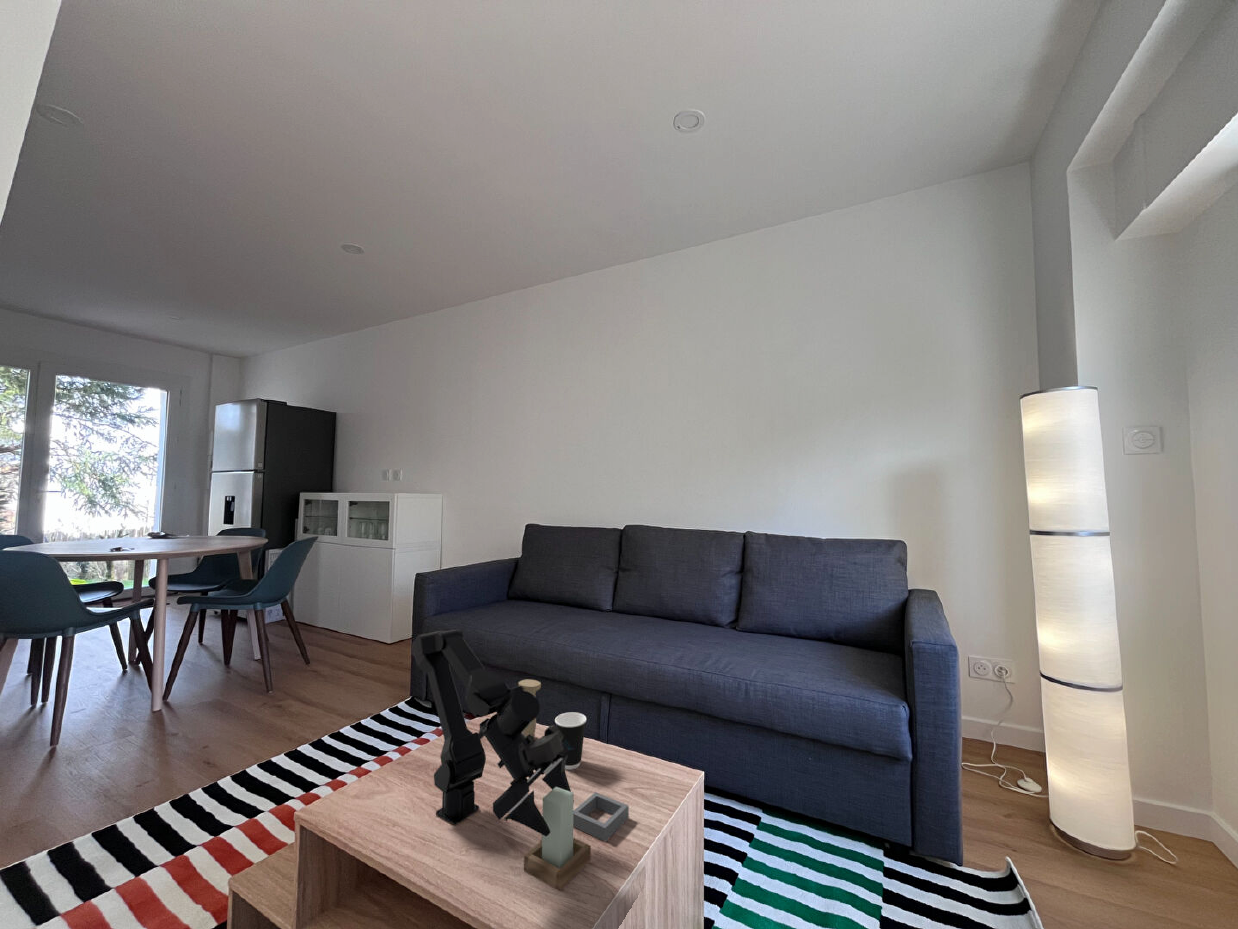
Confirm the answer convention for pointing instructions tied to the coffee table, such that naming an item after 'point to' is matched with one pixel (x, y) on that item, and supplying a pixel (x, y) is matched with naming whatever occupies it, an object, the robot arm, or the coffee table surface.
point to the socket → (596, 827)
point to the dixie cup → (572, 736)
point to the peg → (558, 827)
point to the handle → (532, 688)
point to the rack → (552, 873)
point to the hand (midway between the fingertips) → (561, 818)
